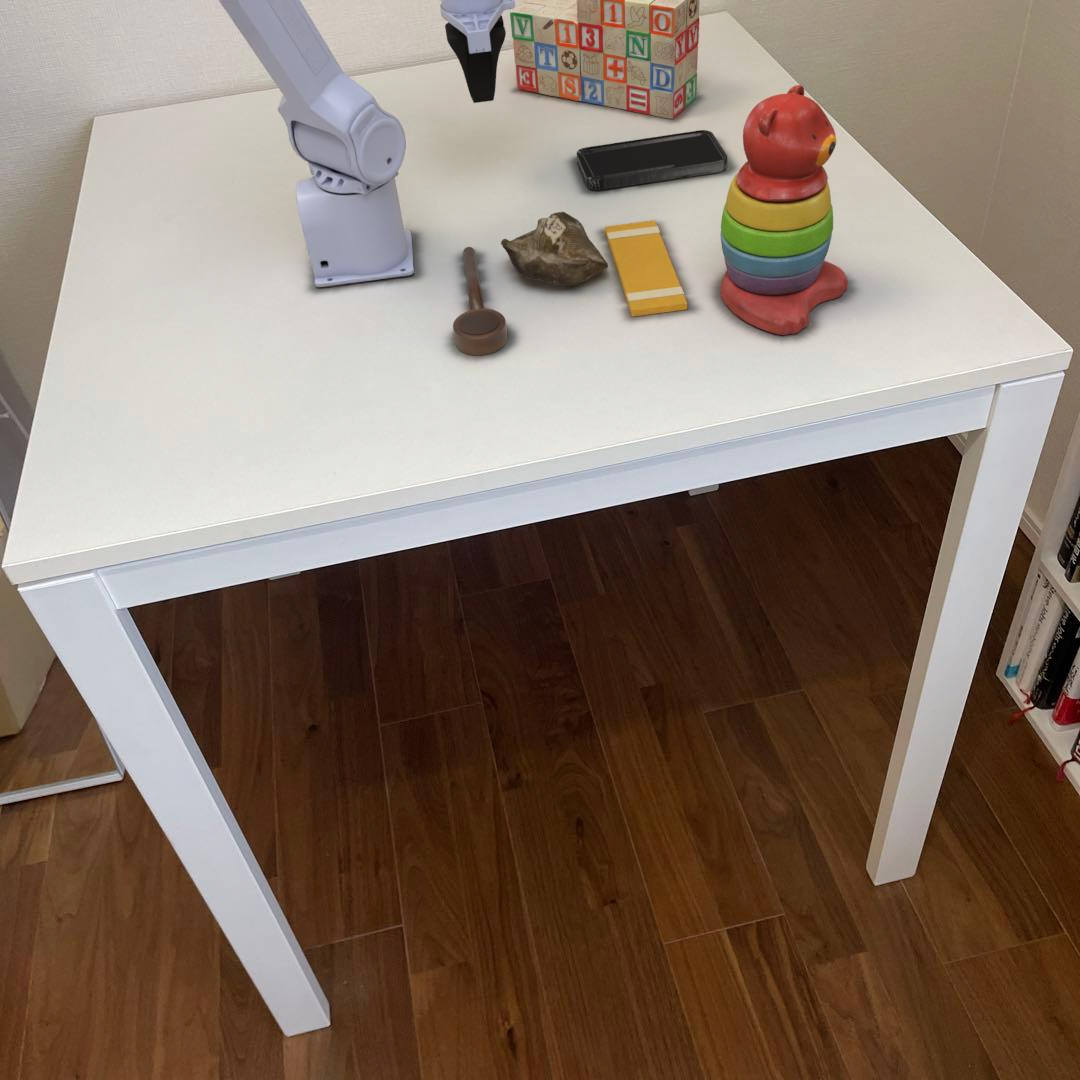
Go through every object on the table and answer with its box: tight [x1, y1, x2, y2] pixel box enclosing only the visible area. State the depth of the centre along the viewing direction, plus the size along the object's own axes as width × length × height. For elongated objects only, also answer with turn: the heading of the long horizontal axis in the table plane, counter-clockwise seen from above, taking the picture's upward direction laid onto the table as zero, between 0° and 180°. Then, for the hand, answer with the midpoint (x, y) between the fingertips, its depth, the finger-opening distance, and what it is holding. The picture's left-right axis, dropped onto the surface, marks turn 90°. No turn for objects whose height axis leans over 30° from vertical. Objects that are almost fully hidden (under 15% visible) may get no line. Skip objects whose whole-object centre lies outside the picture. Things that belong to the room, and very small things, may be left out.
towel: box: [604, 219, 688, 318], centre depth 103 cm, size 5×15×1 cm, turn 7°
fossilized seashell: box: [500, 211, 609, 287], centre depth 102 cm, size 8×7×10 cm
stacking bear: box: [719, 84, 849, 336], centre depth 92 cm, size 11×10×18 cm
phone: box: [576, 129, 728, 191], centre depth 117 cm, size 8×1×15 cm
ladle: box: [452, 246, 508, 357], centre depth 101 cm, size 17×5×2 cm, turn 7°
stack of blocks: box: [509, 0, 701, 120], centre depth 127 cm, size 21×6×12 cm, turn 58°
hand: (483, 99), depth 110 cm, fingers closed
